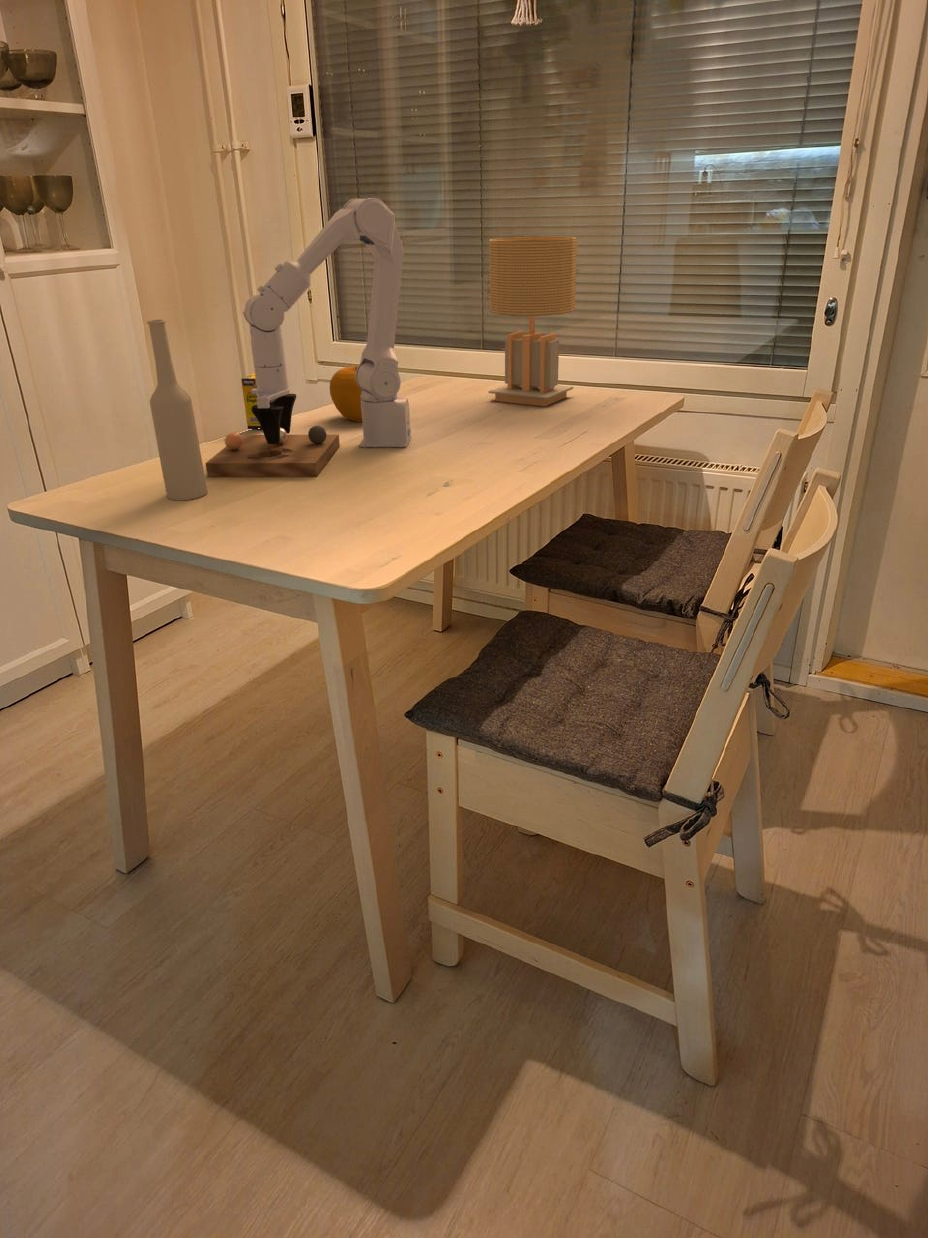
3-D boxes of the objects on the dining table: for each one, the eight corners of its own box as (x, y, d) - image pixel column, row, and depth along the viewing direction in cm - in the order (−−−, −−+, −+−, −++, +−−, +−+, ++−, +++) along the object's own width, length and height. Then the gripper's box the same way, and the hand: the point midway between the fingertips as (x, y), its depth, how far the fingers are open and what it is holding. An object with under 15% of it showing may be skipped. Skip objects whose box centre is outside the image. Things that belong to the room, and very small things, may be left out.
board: (339, 446, 167) (338, 434, 166) (317, 476, 150) (315, 462, 148) (241, 447, 169) (240, 434, 168) (207, 476, 151) (205, 463, 150)
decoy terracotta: (245, 447, 159) (243, 430, 158) (240, 451, 156) (238, 434, 155) (229, 447, 159) (226, 430, 158) (223, 451, 156) (221, 434, 155)
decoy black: (328, 441, 162) (327, 423, 160) (325, 445, 159) (323, 428, 157) (311, 441, 162) (309, 423, 160) (307, 446, 159) (305, 428, 157)
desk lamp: (585, 394, 205) (591, 236, 190) (548, 411, 191) (552, 241, 175) (515, 387, 215) (516, 236, 199) (475, 402, 200) (472, 240, 184)
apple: (321, 423, 186) (316, 370, 180) (350, 410, 196) (346, 359, 191) (373, 427, 181) (369, 372, 176) (399, 413, 192) (396, 362, 187)
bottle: (185, 503, 138) (153, 324, 125) (158, 497, 141) (124, 321, 129) (215, 491, 143) (187, 318, 130) (189, 486, 146) (158, 316, 134)
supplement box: (273, 430, 181) (266, 378, 176) (247, 429, 182) (239, 378, 177) (283, 423, 186) (277, 373, 181) (258, 423, 187) (251, 372, 182)
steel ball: (290, 441, 162) (288, 425, 161) (285, 445, 159) (283, 429, 158) (273, 441, 162) (271, 425, 161) (269, 446, 159) (267, 429, 158)
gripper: (259, 358, 161) (268, 428, 167) (236, 372, 148) (246, 448, 154) (296, 357, 160) (303, 428, 166) (275, 371, 147) (284, 448, 153)
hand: (278, 438), depth 160 cm, fingers open, 7 cm apart
